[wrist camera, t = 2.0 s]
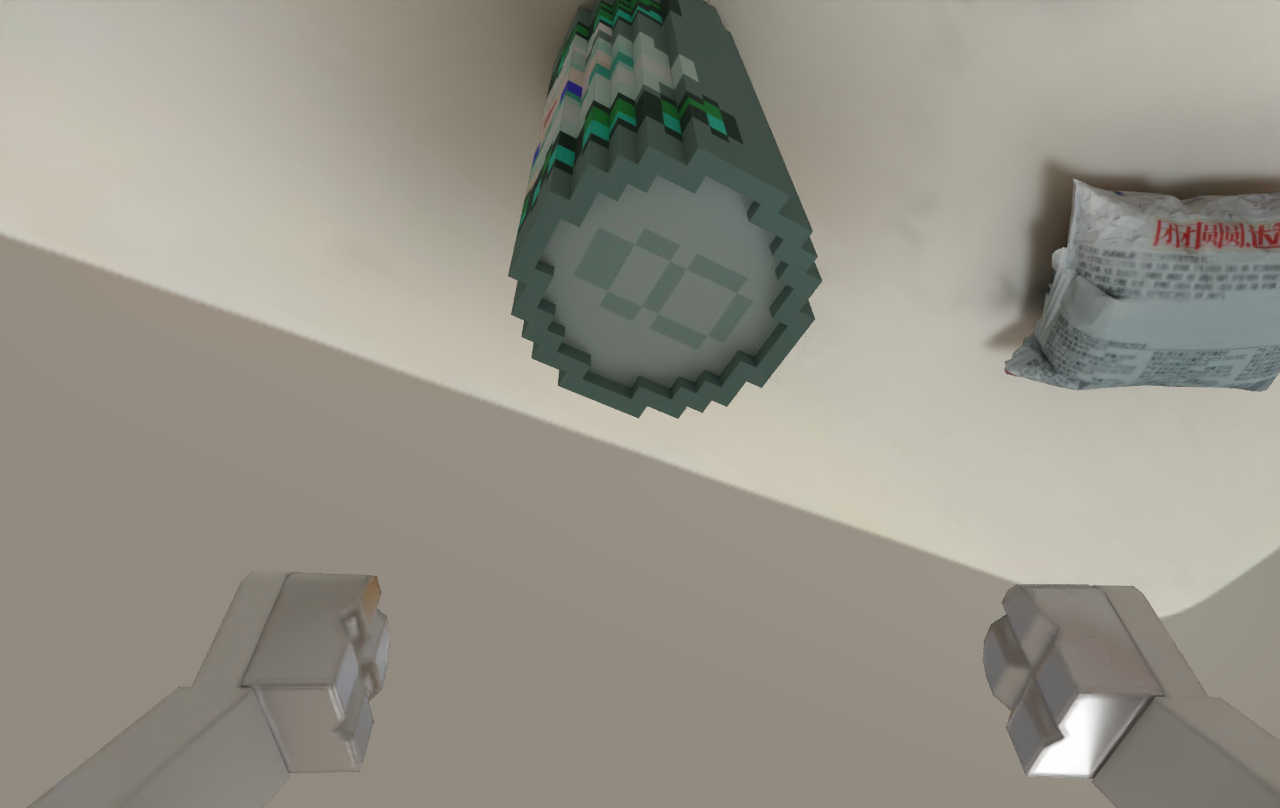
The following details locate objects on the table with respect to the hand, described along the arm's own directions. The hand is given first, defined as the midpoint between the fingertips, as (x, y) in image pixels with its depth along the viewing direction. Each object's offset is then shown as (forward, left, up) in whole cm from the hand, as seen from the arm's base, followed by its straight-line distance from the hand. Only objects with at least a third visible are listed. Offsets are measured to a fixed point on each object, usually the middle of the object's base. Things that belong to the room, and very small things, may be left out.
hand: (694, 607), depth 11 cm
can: (0, 0, -23) cm, 23 cm away
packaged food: (+21, -6, -23) cm, 32 cm away
